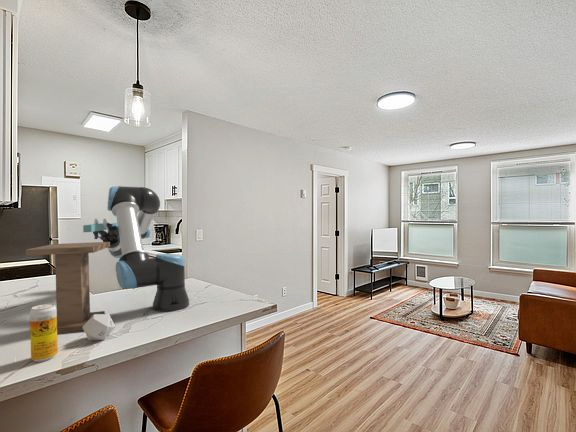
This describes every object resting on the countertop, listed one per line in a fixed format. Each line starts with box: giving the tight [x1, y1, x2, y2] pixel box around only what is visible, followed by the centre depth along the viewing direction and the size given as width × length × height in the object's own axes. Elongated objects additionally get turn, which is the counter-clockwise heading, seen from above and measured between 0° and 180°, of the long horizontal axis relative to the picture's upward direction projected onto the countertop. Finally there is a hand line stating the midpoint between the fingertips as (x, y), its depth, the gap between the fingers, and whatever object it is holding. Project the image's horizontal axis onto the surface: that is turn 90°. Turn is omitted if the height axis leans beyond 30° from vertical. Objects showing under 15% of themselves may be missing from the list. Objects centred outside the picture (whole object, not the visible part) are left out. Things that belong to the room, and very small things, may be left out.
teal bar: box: [82, 222, 106, 233], centre depth 143 cm, size 26×3×3 cm, turn 15°
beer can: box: [29, 303, 59, 363], centre depth 90 cm, size 6×6×15 cm
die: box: [82, 313, 116, 341], centre depth 103 cm, size 8×9×10 cm
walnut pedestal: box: [25, 241, 110, 335], centre depth 116 cm, size 20×20×30 cm
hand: (99, 221), depth 147 cm, fingers closed on teal bar, 3 cm apart
